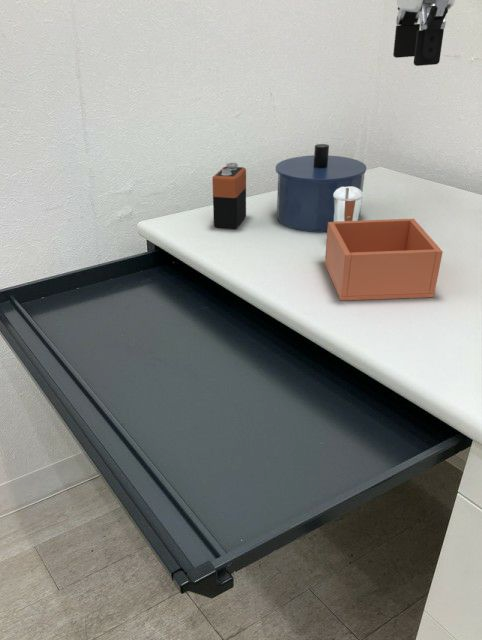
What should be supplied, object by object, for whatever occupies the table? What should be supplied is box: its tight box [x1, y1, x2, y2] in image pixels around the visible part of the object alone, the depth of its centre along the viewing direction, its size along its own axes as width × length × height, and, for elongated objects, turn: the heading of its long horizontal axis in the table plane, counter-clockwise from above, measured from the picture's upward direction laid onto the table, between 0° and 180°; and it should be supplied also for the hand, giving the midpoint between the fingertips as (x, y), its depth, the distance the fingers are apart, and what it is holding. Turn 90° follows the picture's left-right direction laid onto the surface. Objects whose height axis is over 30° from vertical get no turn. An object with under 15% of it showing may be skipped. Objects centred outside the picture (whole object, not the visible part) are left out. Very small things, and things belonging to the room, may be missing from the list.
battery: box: [212, 162, 247, 230], centre depth 105 cm, size 4×7×10 cm, turn 161°
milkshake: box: [333, 186, 364, 222], centre depth 94 cm, size 5×5×10 cm
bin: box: [324, 218, 444, 301], centre depth 84 cm, size 13×13×7 cm
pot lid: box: [275, 143, 367, 182], centre depth 103 cm, size 16×16×5 cm
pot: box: [276, 172, 366, 233], centre depth 106 cm, size 15×15×8 cm
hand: (414, 60), depth 82 cm, fingers open, 9 cm apart
